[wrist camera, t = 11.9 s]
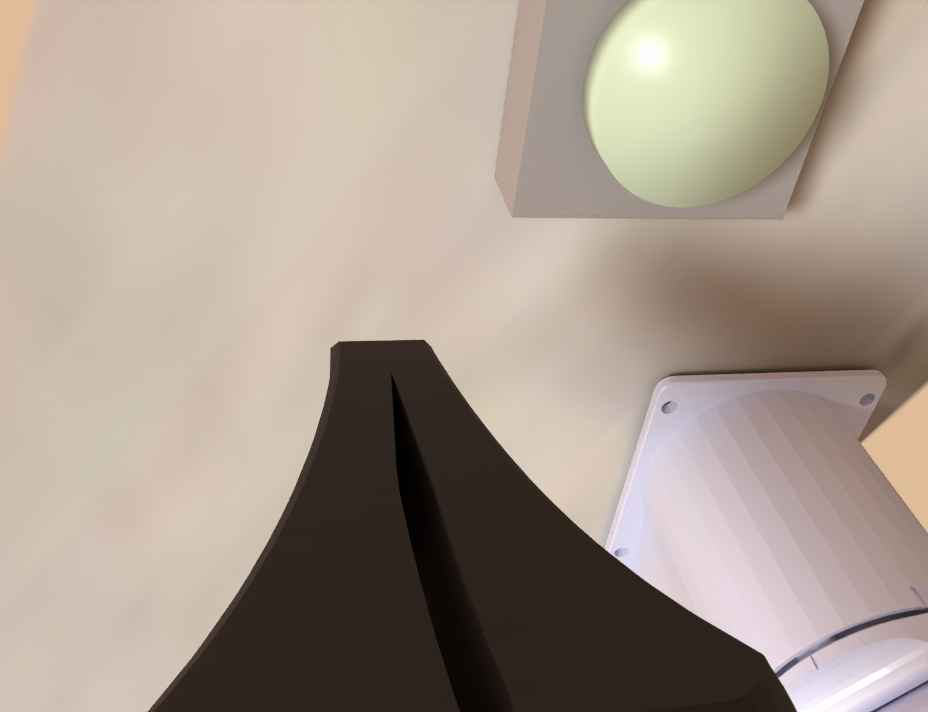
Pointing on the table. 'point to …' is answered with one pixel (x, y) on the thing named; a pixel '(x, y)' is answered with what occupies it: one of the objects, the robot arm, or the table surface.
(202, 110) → the table surface
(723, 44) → the button
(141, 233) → the table surface
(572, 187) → the button housing
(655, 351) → the table surface
